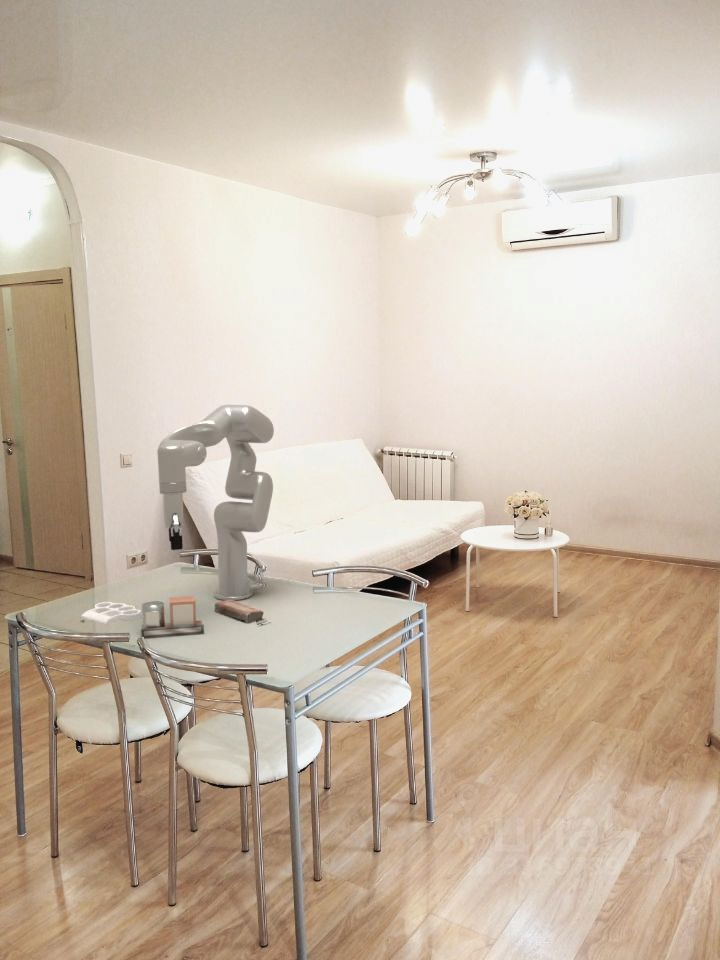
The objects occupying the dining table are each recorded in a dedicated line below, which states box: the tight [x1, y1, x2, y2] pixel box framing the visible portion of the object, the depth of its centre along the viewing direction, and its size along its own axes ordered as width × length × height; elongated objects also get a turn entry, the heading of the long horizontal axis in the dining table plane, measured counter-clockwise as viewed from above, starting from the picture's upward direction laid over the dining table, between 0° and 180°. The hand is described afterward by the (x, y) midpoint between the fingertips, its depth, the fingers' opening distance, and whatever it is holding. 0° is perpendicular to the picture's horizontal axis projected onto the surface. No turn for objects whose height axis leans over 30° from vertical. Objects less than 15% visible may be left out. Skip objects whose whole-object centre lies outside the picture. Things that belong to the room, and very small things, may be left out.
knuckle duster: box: [80, 601, 142, 626], centre depth 244 cm, size 3×18×15 cm
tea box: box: [169, 595, 197, 627], centre depth 230 cm, size 7×5×9 cm
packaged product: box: [214, 600, 270, 626], centre depth 244 cm, size 18×5×10 cm
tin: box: [141, 600, 166, 629], centre depth 229 cm, size 6×6×8 cm
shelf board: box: [140, 620, 205, 639], centre depth 231 cm, size 17×12×4 cm
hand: (175, 545), depth 234 cm, fingers open, 9 cm apart
